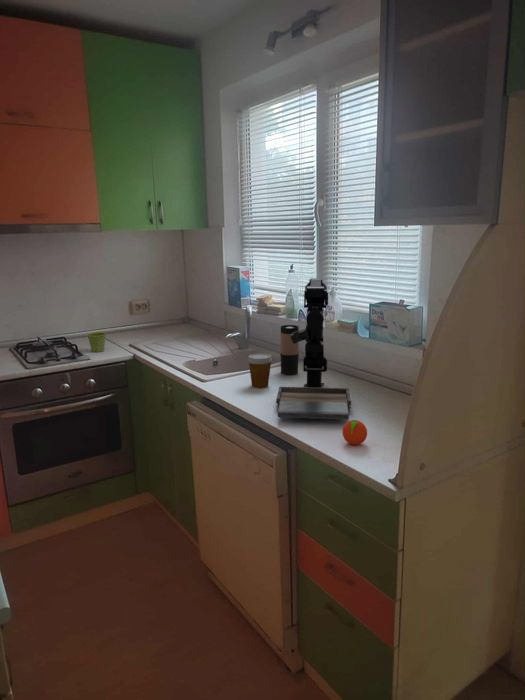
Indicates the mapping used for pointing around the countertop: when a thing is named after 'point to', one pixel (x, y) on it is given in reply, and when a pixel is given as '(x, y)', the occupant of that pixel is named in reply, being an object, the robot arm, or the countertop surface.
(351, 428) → the clementine
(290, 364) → the travel mug
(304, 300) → the robot arm
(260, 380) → the disposable coffee cup
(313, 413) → the panel
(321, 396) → the tray
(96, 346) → the plant pot
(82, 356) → the countertop surface
